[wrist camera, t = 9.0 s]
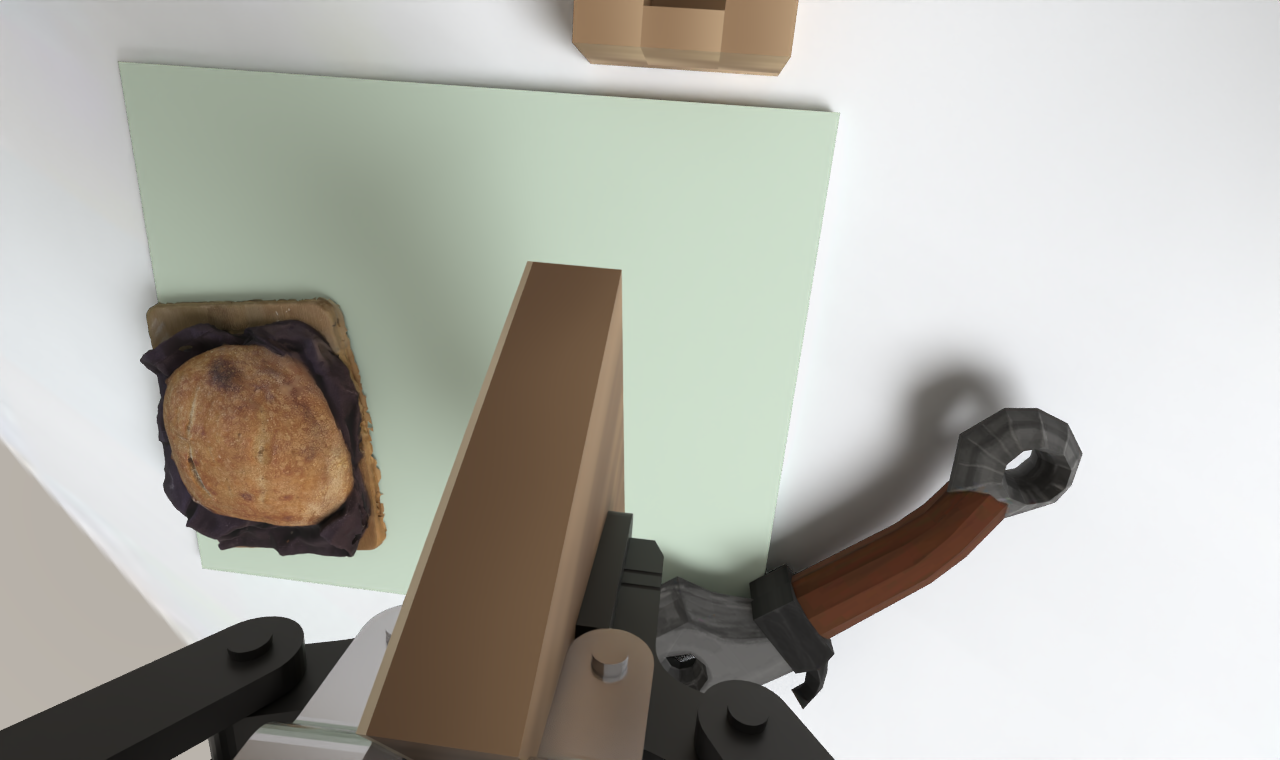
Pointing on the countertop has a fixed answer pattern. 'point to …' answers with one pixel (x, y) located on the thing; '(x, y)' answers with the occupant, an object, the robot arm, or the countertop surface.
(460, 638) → the board
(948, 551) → the knife
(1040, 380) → the countertop surface
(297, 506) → the bread roll
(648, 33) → the stand
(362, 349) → the mat
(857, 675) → the countertop surface
